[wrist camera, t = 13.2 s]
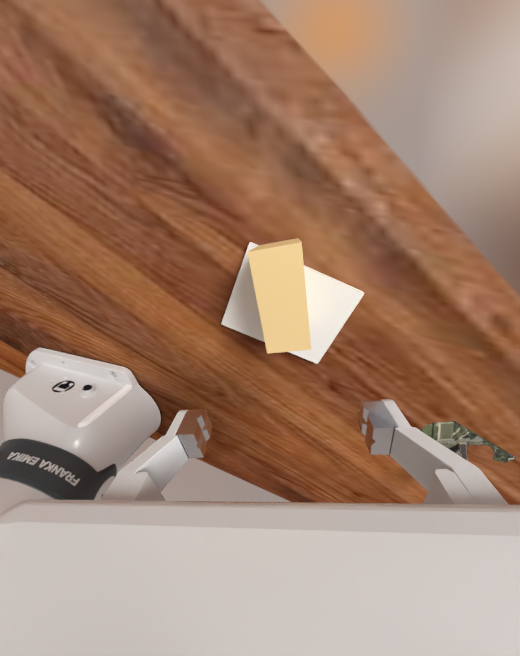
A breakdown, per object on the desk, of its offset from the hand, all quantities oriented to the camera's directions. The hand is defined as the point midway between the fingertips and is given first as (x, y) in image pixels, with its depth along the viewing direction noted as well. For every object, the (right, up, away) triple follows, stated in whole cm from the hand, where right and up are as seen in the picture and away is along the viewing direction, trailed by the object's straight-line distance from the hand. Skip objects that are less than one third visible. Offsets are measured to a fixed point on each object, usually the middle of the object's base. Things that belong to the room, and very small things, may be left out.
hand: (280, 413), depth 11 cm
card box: (+2, +4, +10) cm, 11 cm away
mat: (+2, +7, +13) cm, 15 cm away
